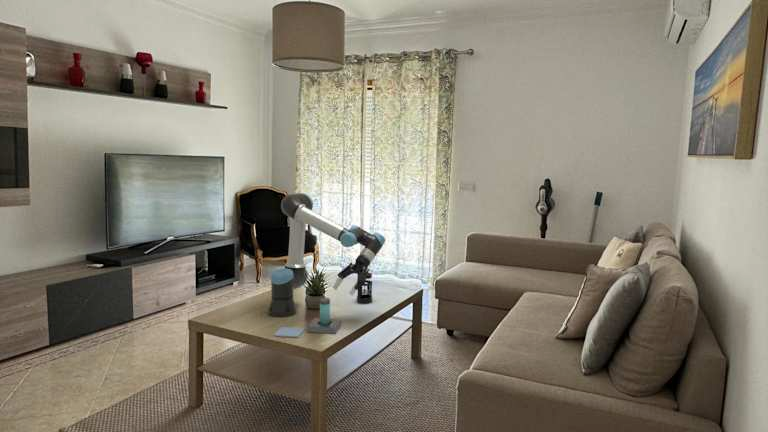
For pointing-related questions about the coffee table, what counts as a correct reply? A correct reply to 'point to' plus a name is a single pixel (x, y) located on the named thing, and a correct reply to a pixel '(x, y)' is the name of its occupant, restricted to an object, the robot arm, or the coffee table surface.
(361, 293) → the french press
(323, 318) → the plug
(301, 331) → the mat
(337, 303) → the coffee table surface
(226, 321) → the coffee table surface
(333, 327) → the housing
